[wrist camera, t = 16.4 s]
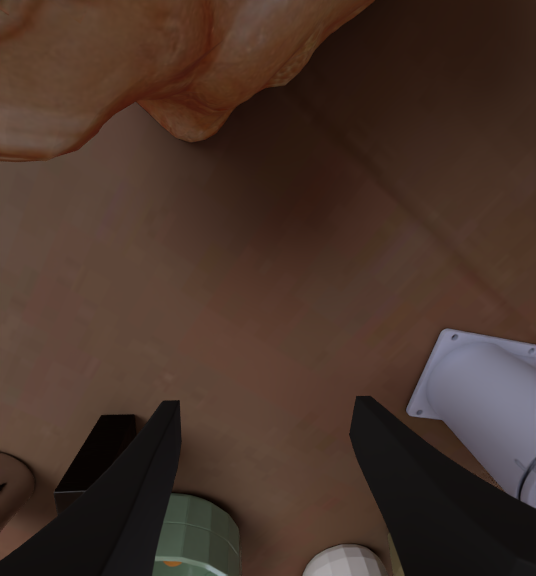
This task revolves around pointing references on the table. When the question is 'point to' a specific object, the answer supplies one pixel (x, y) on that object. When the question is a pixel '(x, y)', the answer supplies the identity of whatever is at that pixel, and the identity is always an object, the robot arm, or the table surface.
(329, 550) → the cup
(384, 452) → the robot arm
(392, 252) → the table surface
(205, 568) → the soup bowl
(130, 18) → the frog figurine
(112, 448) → the ladle
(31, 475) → the beer glass
